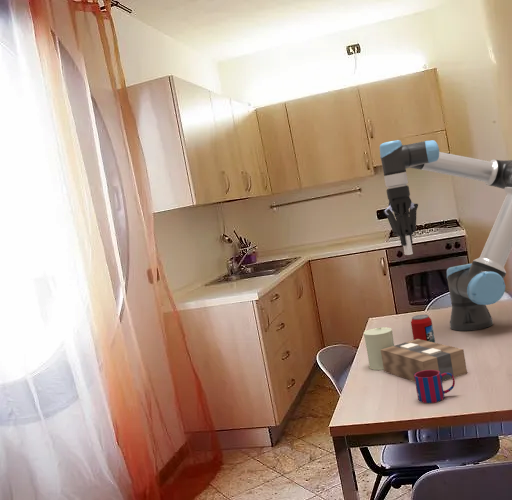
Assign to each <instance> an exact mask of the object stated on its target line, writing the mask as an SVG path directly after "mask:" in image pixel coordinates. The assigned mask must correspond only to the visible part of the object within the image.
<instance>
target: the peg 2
mask: <svg viewBox="0 0 512 500" xmlns="http://www.w3.org/2000/svg"><path fill="white" fill-rule="evenodd" d="M440 352H441V350H438V349H434V348H432V349H428V350H425V351H422V354H426V355H429V356H430V355H434V354H437V353H440Z"/></svg>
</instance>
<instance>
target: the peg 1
mask: <svg viewBox="0 0 512 500" xmlns="http://www.w3.org/2000/svg"><path fill="white" fill-rule="evenodd" d="M415 347H419V345H417V344H413V343H409V344H405V345H402V346H400V348H403V349H407V350H409V349H412V348H415Z"/></svg>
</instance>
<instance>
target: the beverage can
mask: <svg viewBox="0 0 512 500" xmlns="http://www.w3.org/2000/svg"><path fill="white" fill-rule="evenodd" d="M410 325H411V326H410V327H411V333H412V338H413V340H416V339H421V340H425V341H429V342H434V343H436V340H435V334H434V328H433V322H432V318H431V317H430V315H428V314H417V315H414V316H412V317H411V321H410Z"/></svg>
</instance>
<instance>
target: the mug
mask: <svg viewBox="0 0 512 500" xmlns="http://www.w3.org/2000/svg"><path fill="white" fill-rule="evenodd" d="M445 375H450V376H451V377H452V378H451V380H452V385H451V386H450V387H449V388H447V389H446V390H445V389H444V387H443V381H442V380H441V379H442V377H443V376H445ZM414 378H415V382H414V384H415V390H416V395H417V401H419V403H422V404H423V403H424V404H434V403H439V402H441V401H442V399H443V400H444V399H445V394H447V393H449V392H451V391H452V390H453V389H454V387H455V386H456V385H455V384H456V379H455V377H454V376H453V375H452V374H451V373H443V374H440V371H437V370H423V371H419V372H417V373H415V374H414ZM438 401H439V402H438Z"/></svg>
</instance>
